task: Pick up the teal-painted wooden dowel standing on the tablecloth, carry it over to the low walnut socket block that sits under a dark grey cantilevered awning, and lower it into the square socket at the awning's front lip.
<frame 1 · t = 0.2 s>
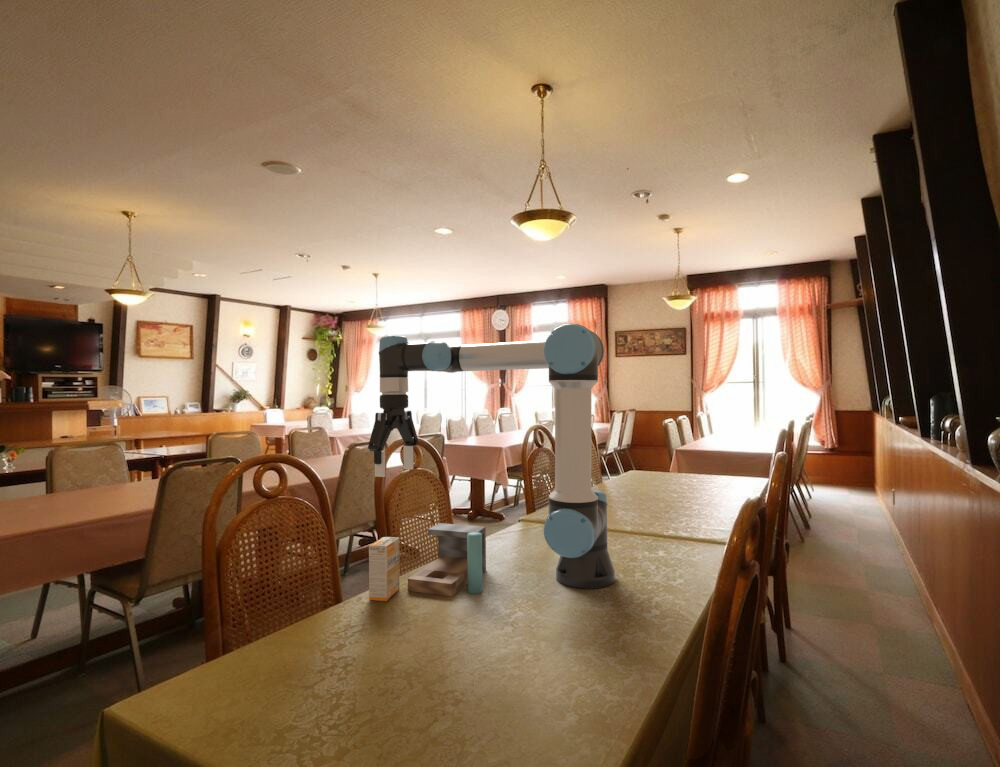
hand: (394, 472, 147), 28 cm above the table, fingers open, 13 cm apart
socket station: (445, 581, 142), on the table
peg: (475, 591, 135), on the table
supplement box: (385, 595, 133), on the table
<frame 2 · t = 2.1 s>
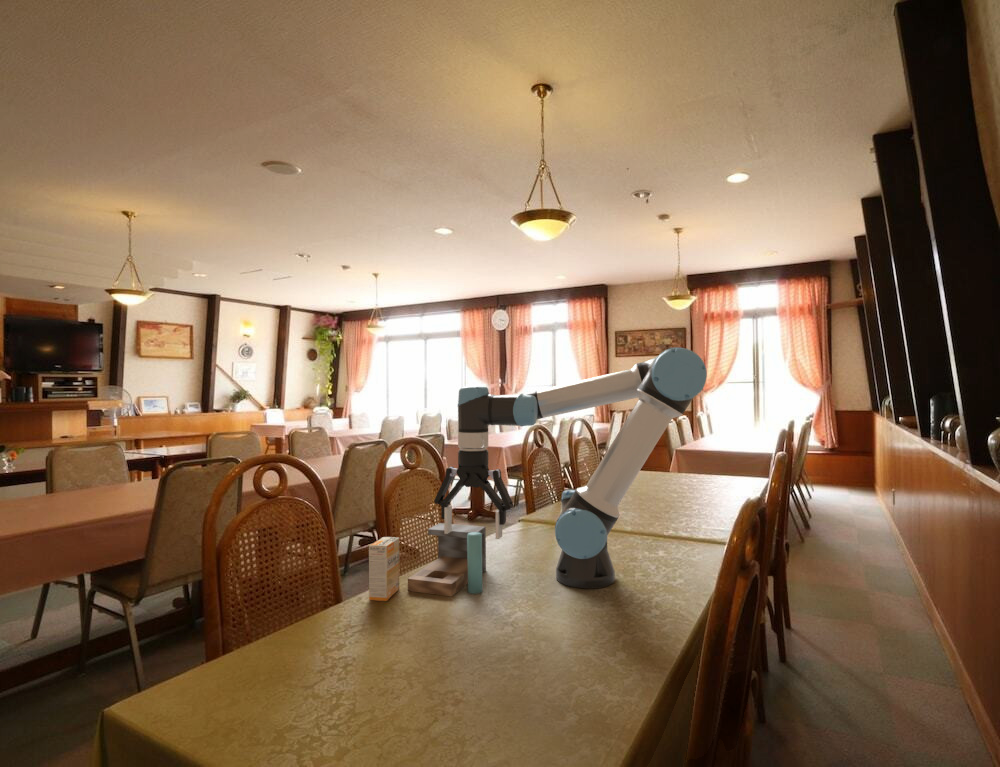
hand: (473, 535, 135), 14 cm above the table, fingers open, 13 cm apart
nothing on the table moved.
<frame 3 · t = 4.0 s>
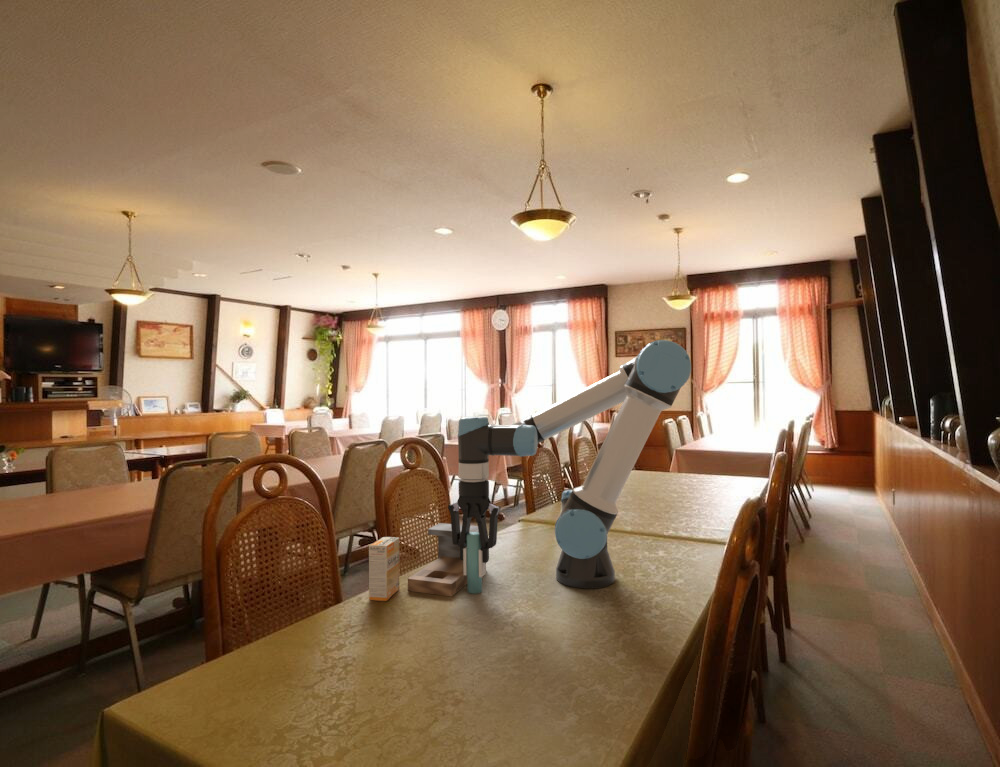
hand: (474, 574, 135), 4 cm above the table, fingers closed on peg, 3 cm apart
peg: (474, 590, 135), on the table, touching gripper
everything else where it was.
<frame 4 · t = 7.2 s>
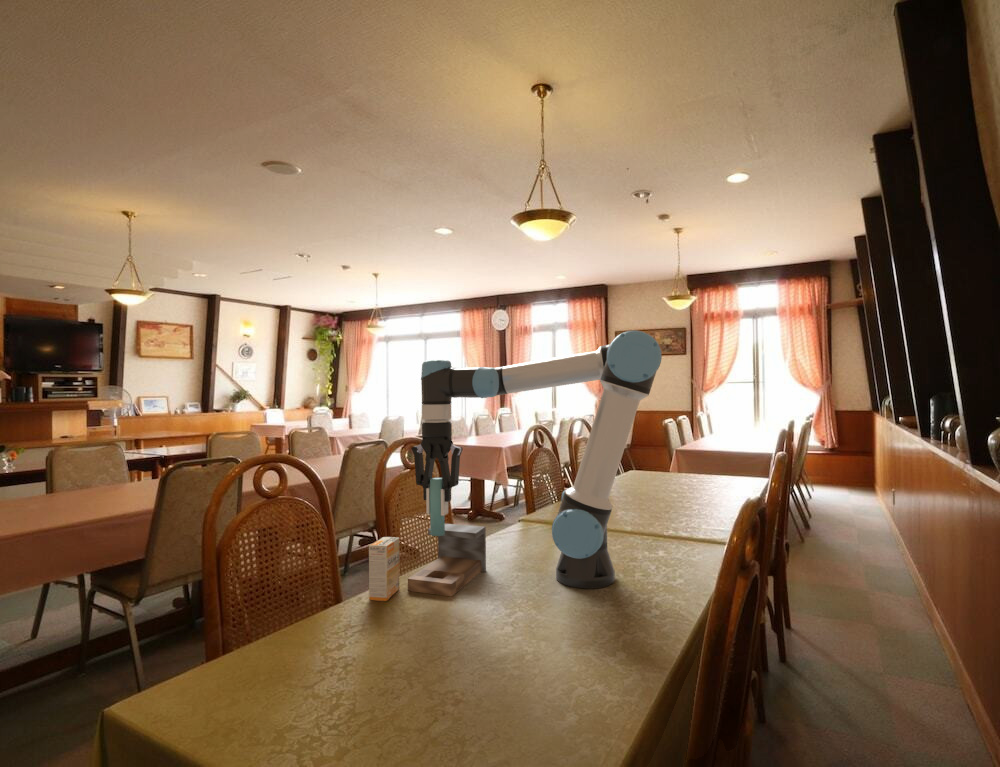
hand: (437, 513, 138), 18 cm above the table, fingers closed on peg, 3 cm apart
peg: (437, 534, 138), point 13 cm above the table, touching gripper
everything else where it was.
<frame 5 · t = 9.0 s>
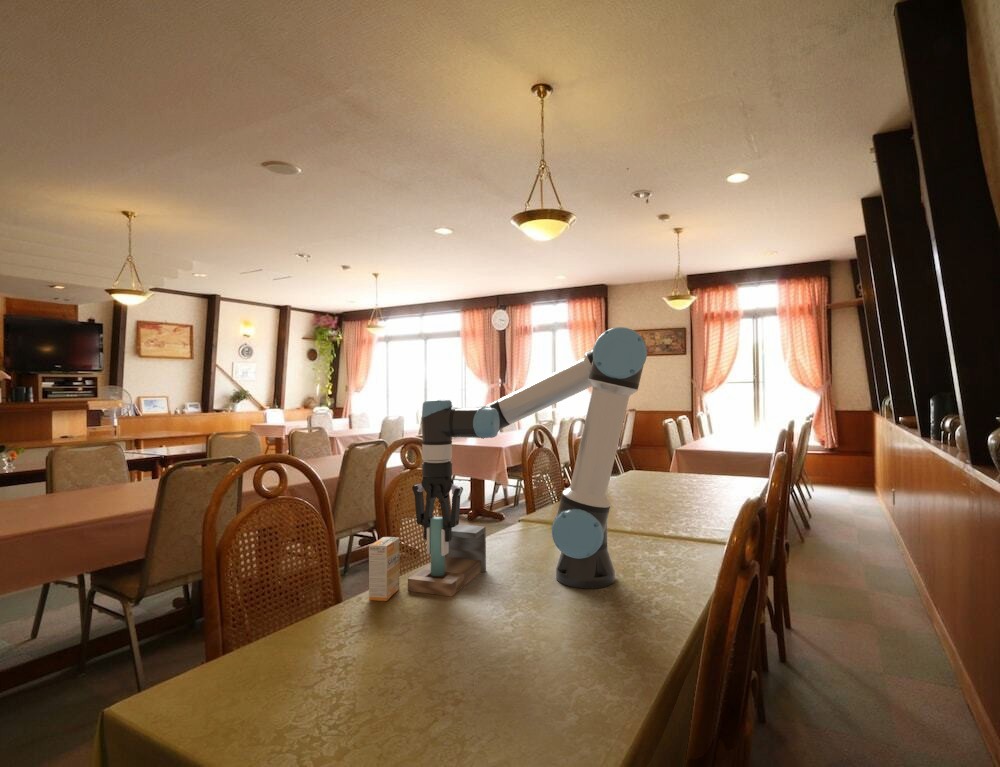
hand: (437, 553, 138), 8 cm above the table, fingers closed on peg, 3 cm apart
peg: (437, 573, 138), point 3 cm above the table, touching gripper
everything else where it was.
when the fingers open (6 cm above the table, at t = 10.5 s): peg stays where it is, resting in socket station.
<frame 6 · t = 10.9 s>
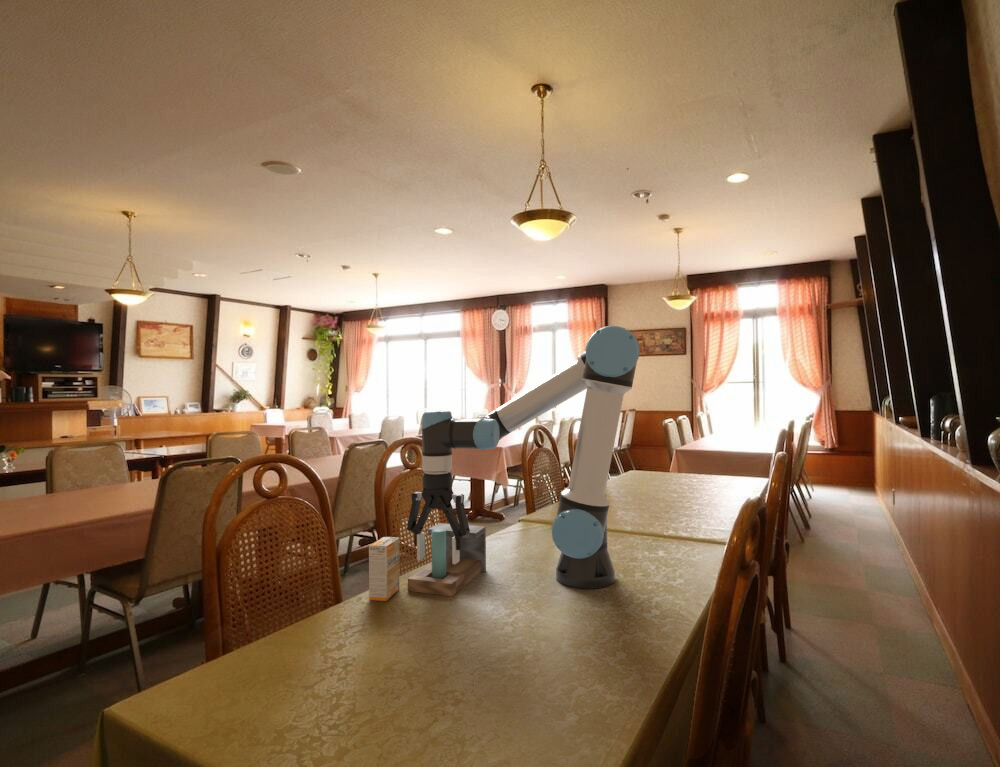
hand: (438, 560, 138), 7 cm above the table, fingers open, 9 cm apart
peg: (439, 586, 138), resting in socket station
everything else where it was.
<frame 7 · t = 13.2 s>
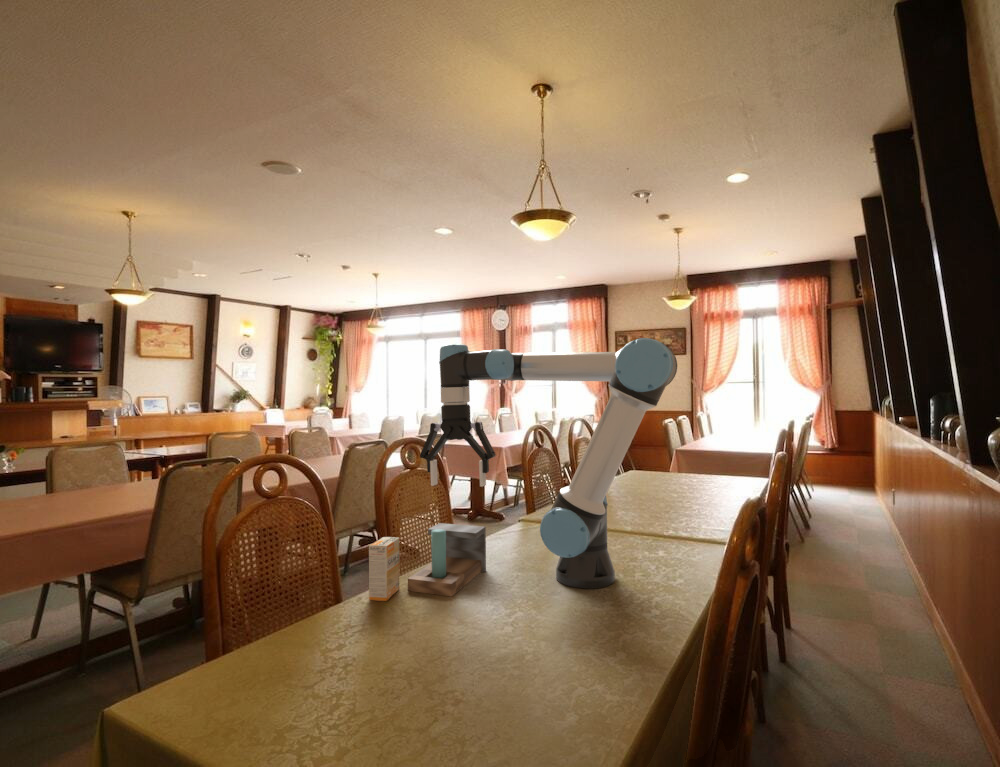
hand: (458, 485, 142), 25 cm above the table, fingers open, 13 cm apart
nothing on the table moved.
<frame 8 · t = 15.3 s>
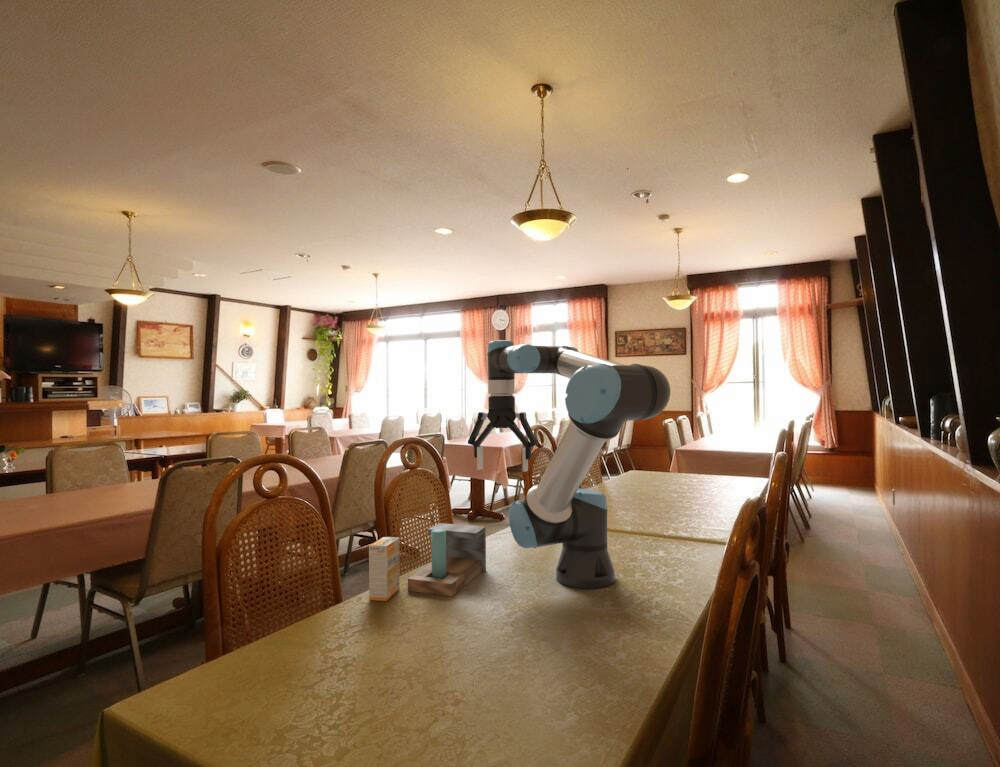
hand: (502, 470, 155), 27 cm above the table, fingers open, 13 cm apart
nothing on the table moved.
at the end: peg 0.2 cm from the target spot on the socket station, point 0.0 cm above the socket station's base; peg tilted 0°; the gripper is holding nothing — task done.
